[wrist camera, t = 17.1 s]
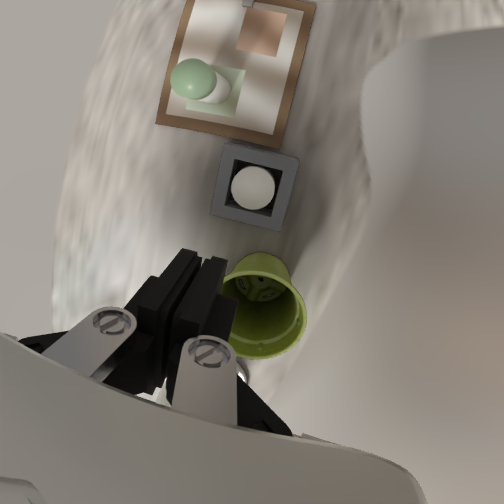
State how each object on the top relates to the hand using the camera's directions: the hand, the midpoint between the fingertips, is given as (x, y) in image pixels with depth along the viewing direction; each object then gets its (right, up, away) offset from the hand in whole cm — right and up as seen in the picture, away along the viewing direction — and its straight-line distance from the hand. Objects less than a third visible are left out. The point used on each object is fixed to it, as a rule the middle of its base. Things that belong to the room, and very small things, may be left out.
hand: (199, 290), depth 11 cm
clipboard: (0, +20, +16) cm, 26 cm away
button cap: (+2, +8, +20) cm, 21 cm away
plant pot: (+3, -1, +24) cm, 25 cm away
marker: (-2, +17, +16) cm, 24 cm away
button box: (+2, +8, +20) cm, 22 cm away
